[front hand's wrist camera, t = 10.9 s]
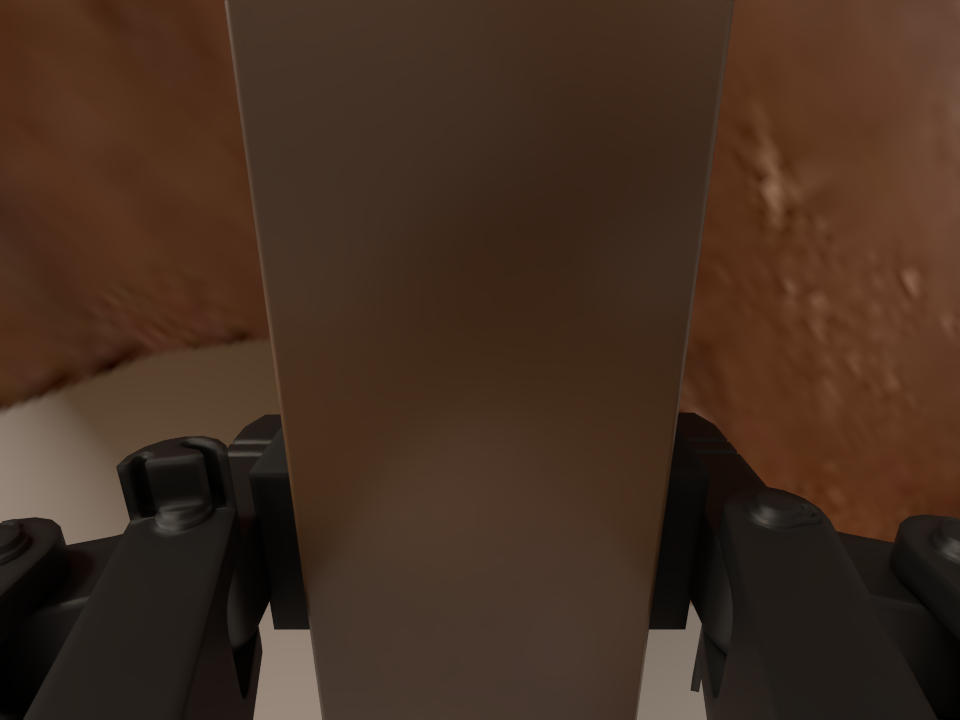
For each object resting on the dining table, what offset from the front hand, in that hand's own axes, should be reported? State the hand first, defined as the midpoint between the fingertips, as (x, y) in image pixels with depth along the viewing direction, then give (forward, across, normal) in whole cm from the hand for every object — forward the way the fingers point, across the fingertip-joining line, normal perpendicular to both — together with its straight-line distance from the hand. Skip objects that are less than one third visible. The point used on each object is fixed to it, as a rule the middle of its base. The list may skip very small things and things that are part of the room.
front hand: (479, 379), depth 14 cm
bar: (+1, 0, -30) cm, 30 cm away
